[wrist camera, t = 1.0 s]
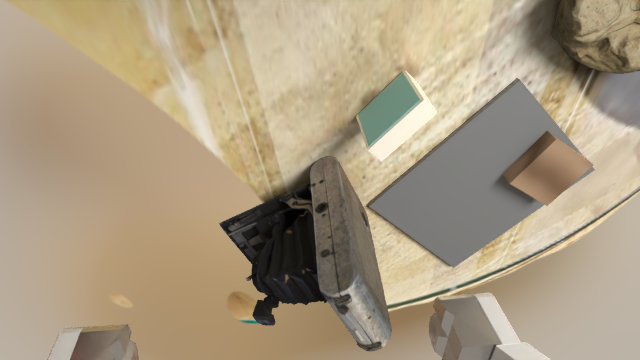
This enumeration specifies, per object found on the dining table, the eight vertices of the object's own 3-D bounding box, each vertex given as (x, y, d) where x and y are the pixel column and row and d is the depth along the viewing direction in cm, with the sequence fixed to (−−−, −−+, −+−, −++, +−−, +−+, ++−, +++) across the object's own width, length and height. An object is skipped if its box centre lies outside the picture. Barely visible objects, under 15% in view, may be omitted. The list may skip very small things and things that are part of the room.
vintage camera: (218, 197, 53) (192, 348, 37) (336, 148, 50) (361, 291, 34) (258, 246, 58) (250, 396, 43) (366, 205, 55) (400, 350, 39)
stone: (594, 84, 48) (626, 105, 44) (522, 11, 43) (551, 28, 38) (709, -20, 43) (759, -7, 38) (644, -119, 37) (694, -117, 33)
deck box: (403, 68, 45) (423, 98, 39) (416, 81, 46) (437, 112, 40) (355, 115, 47) (367, 149, 42) (368, 126, 48) (381, 161, 43)
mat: (517, 78, 47) (520, 80, 46) (591, 167, 55) (594, 170, 54) (368, 203, 55) (368, 206, 54) (452, 264, 63) (453, 267, 63)
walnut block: (547, 130, 50) (556, 139, 49) (583, 156, 53) (593, 165, 51) (502, 174, 53) (509, 183, 52) (539, 196, 56) (547, 205, 54)
